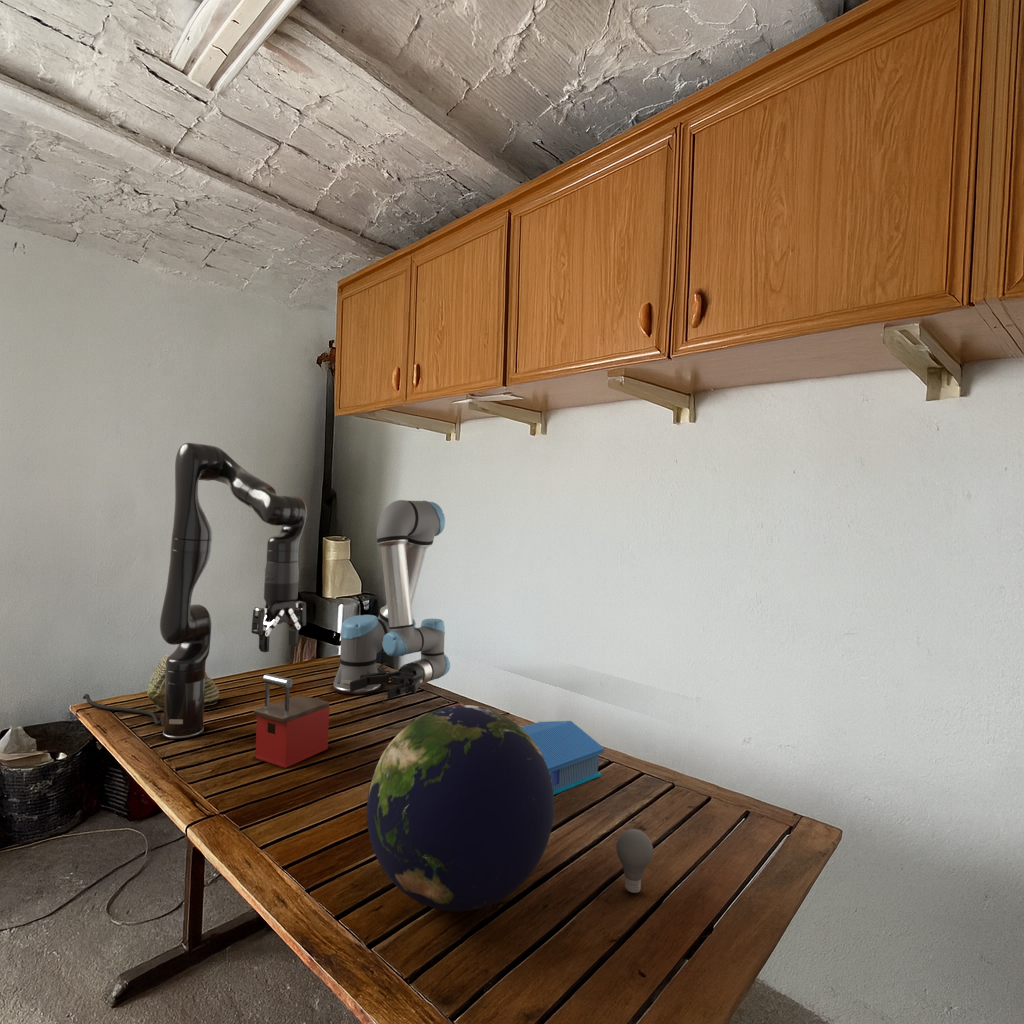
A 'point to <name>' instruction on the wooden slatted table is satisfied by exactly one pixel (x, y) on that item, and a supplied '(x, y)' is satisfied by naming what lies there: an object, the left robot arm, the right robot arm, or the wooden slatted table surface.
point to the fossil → (158, 687)
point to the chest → (292, 738)
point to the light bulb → (634, 857)
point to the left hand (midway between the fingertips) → (279, 648)
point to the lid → (287, 702)
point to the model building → (566, 753)
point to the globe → (460, 808)
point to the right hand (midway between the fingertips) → (369, 690)
